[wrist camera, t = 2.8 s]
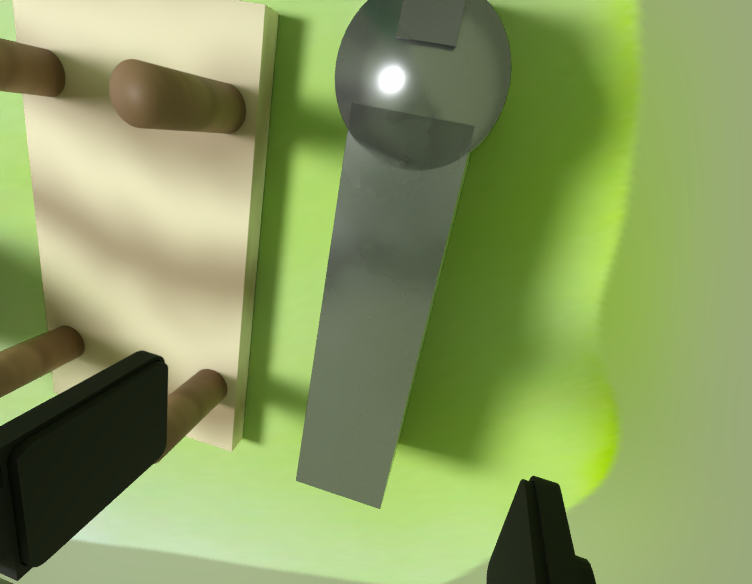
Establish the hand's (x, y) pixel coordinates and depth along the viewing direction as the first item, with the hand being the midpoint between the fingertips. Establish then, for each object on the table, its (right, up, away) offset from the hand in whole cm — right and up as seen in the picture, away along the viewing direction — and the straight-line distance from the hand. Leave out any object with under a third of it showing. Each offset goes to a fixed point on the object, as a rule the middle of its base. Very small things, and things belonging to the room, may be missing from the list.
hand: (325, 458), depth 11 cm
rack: (-10, +7, +12) cm, 17 cm away
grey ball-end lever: (+2, +6, +9) cm, 11 cm away
